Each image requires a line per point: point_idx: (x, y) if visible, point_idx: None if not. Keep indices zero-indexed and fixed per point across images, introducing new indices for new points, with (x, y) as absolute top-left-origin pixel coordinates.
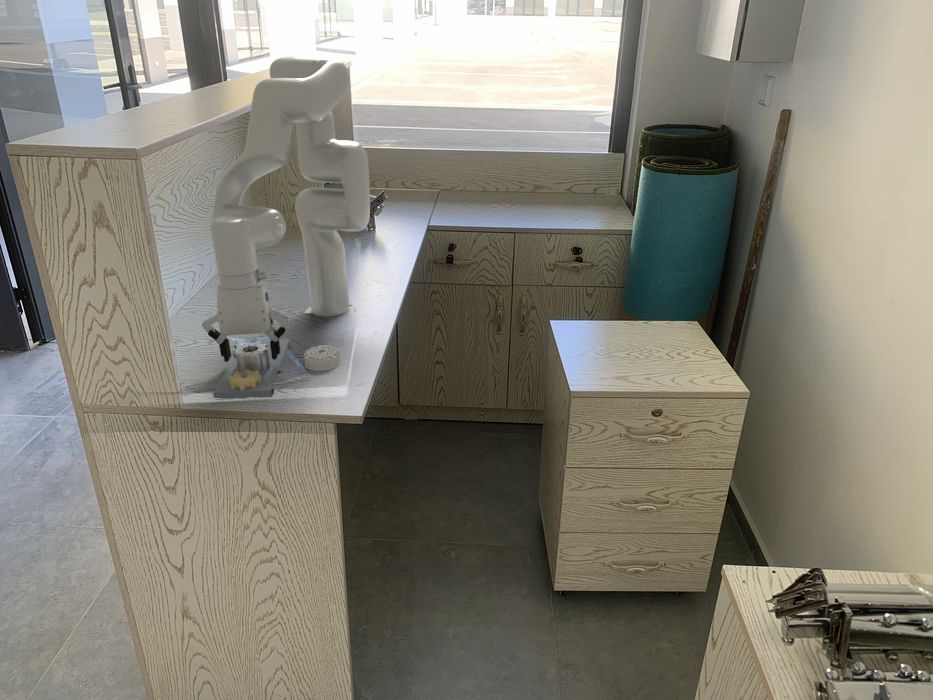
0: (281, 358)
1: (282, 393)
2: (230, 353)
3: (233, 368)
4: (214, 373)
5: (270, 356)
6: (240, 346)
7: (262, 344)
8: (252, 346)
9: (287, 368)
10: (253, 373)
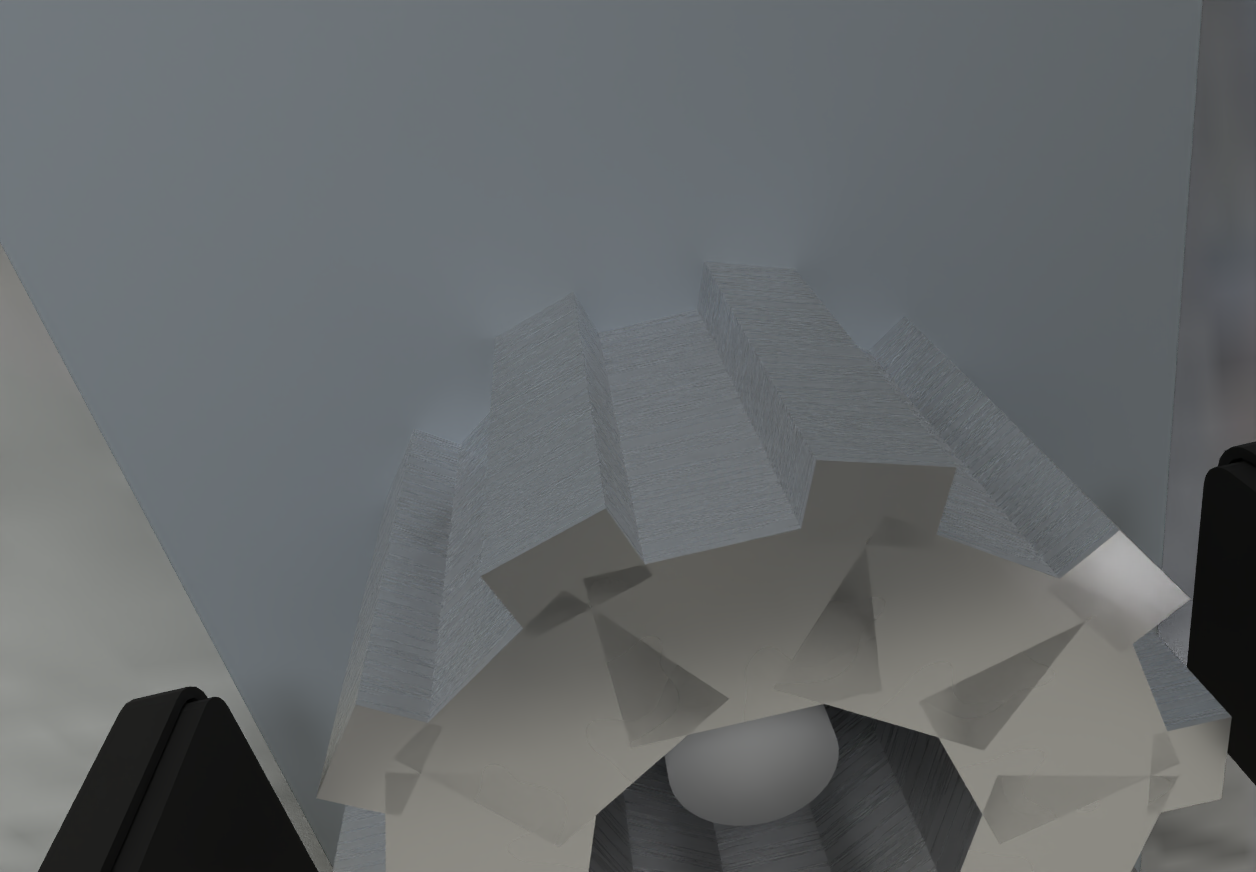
0: (1170, 162)
1: (1187, 862)
2: (212, 764)
3: None
4: (21, 593)
5: (906, 84)
6: (431, 793)
7: (1044, 592)
8: (767, 706)
9: (1194, 262)
10: None
